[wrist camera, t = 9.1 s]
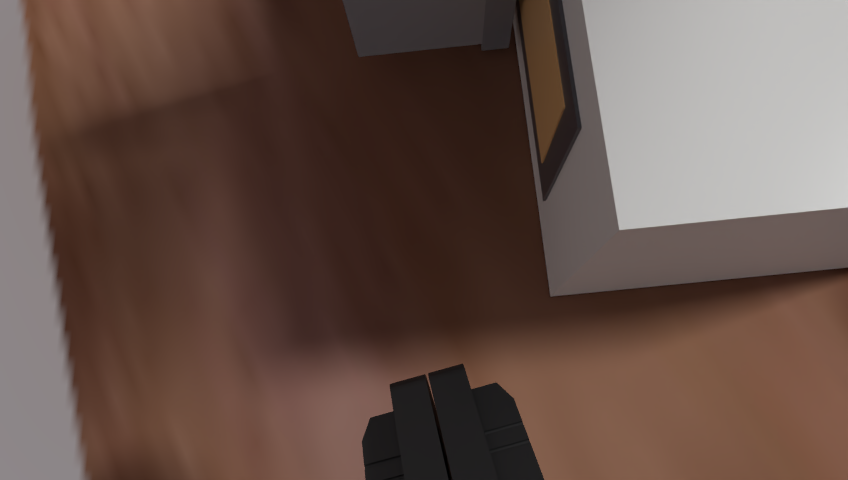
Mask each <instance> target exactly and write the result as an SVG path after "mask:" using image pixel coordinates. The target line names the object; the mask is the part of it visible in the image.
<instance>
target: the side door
mask: <svg viewBox="0 0 848 480" xmlns="http://www.w3.org/2000/svg"><path fill="white" fill-rule="evenodd" d="M342 1H343V4H344V8H345V11H346V15H347V18H348V22H349V25H350V29H351V33H352V36H353V40H354V43H355V47H356V50H357V54H358V57H363V56H373V55H382V54H392V53H401V52H410V51H420V50H429V49H439V48H448V47H458V46H467V45H477V44H481V50H482V51H484V50H494V49H503V48H509V42H510V36H511V30H512V24H513V18H514V12H515V5H516V0H342Z"/></svg>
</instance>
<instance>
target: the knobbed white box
mask: <svg viewBox="0 0 848 480" xmlns="http://www.w3.org/2000/svg"><path fill="white" fill-rule="evenodd" d="M513 25H514V32H515V40H516V47H517V55H518V62H519V69H520V77H521V84H522V91H523V99H524V106H525V113H526V121H527V128H528V136H529V143H530V150H531V158H532V165H533V172H534V180H535V187H536V195H537V202H538V209H539V217H540V224H541V231H542V239H543V246H544V254H545V261H546V268H547V276H548V283H549V290H550V297H552V296H562V295H572V294H582V293H593V292H603V291H613V290H623V289H634V288H644V287H654V286H664V285H675V284H685V283H695V282H705V281H716V280H726V279H736V278H746V277H757V276H767V275H777V274H787V273H798V272H808V271H818V270H828V269H839V268H848V0H516V5H515V12H514V18H513Z"/></svg>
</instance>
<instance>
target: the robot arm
mask: <svg viewBox="0 0 848 480" xmlns="http://www.w3.org/2000/svg"><path fill="white" fill-rule="evenodd" d="M428 376H429V380H430V384H431V389H432V393H433V397H434V401H433V397H432V394H431V391H430V387H429V384H428V381H427V378H426V375H425V374H424V375H421V376H417V377H414V378H410V379H406V380H403V381H399V382H396V383H392V384H390V391H391V398H392V404H393V410H394V411H393V412H389V413H386V414H382V415H379V416H375V417H371V418H370V420H369V423H368V426H367V429H366V432H365V434H364V437H363V440H362V447H363V457H364V466H365V478H366V480H544V478H543V475H542V473H541V470H540V467H539V465H538V462H537V459H536V457H535V454H534V451H533V449H532V446H531V443H530V441H529V438H528V435H527V433H526V430H525V427H524V425H523V422H522V419H521V417H520V414H519V411H518V409H517V406H516V403H515V401H514V398H512V397H511V396H510V395H509V394H508V393H507V392H506V391H505V390H504V389H503V388H502V387H501V386H500V385H498V384H497V383H493V384H489V385H486V386H482V387H478V388H475V389H471V388H470V385H469V381H468V378H467V375H466V371H465V368H464V365H463V364H460V365H456V366H453V367H449V368H445V369H442V370H438V371H435V372H431V373H428ZM434 402H435V404H434ZM435 406H436V407H435Z"/></svg>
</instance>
